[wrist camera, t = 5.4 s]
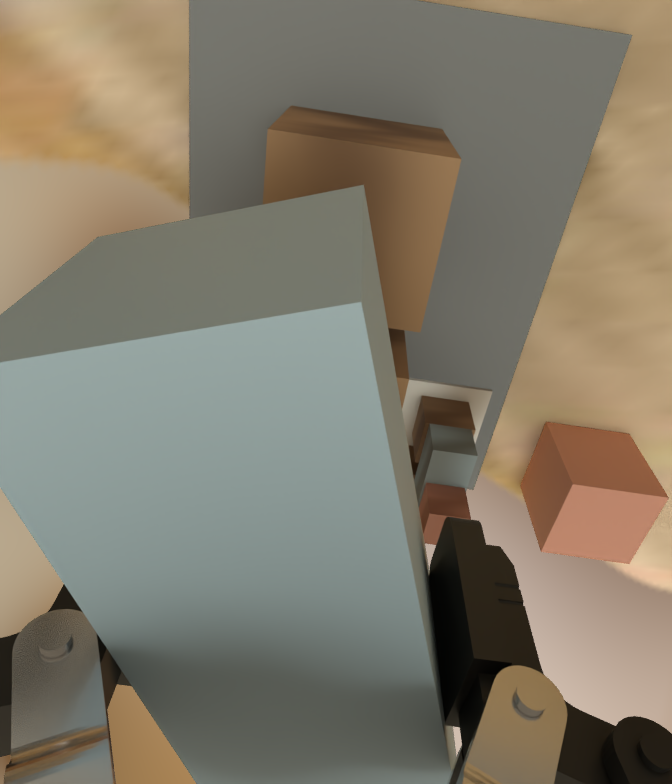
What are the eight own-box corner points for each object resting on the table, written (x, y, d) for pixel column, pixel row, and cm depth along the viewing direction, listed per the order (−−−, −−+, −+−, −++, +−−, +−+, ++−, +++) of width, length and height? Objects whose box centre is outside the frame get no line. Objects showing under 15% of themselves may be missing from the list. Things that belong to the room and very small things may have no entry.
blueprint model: (491, 389, 29) (519, 476, 24) (456, 495, 33) (473, 591, 28) (405, 376, 29) (412, 460, 24) (380, 485, 33) (381, 578, 27)
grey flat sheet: (626, 34, 22) (632, 35, 21) (471, 482, 33) (473, 489, 33) (193, -36, 21) (189, -37, 21) (192, 443, 33) (189, 450, 32)
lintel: (363, 184, 10) (361, 301, 6) (444, 663, 17) (469, 868, 13) (97, 237, 11) (-75, 375, 7) (282, 675, 18) (256, 874, 14)
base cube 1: (442, 128, 23) (461, 159, 18) (411, 272, 26) (420, 332, 21) (291, 105, 23) (267, 128, 18) (278, 252, 26) (255, 308, 21)
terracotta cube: (628, 433, 31) (668, 497, 27) (597, 495, 33) (629, 563, 29) (545, 421, 31) (572, 484, 27) (520, 484, 33) (541, 551, 29)
